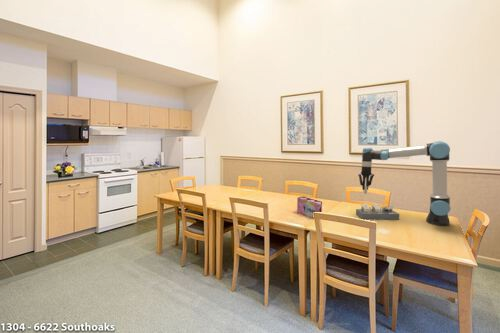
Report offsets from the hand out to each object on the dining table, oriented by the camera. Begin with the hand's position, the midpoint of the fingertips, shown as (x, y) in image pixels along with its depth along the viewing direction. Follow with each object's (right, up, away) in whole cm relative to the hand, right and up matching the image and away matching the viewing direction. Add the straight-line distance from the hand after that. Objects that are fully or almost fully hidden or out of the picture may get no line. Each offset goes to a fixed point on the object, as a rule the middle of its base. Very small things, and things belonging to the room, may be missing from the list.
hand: (365, 193), depth 222 cm
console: (+9, -20, -3) cm, 22 cm away
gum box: (-47, -19, +5) cm, 51 cm away
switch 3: (+18, -12, -2) cm, 22 cm away
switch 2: (+9, -12, -2) cm, 15 cm away
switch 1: (0, -12, -2) cm, 12 cm away
